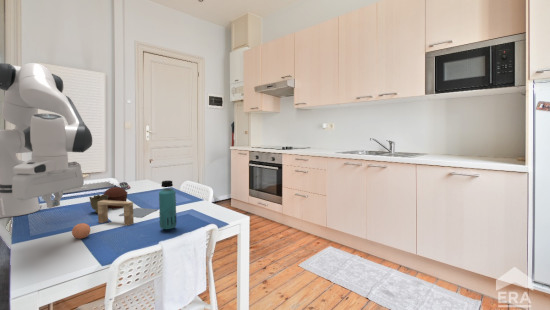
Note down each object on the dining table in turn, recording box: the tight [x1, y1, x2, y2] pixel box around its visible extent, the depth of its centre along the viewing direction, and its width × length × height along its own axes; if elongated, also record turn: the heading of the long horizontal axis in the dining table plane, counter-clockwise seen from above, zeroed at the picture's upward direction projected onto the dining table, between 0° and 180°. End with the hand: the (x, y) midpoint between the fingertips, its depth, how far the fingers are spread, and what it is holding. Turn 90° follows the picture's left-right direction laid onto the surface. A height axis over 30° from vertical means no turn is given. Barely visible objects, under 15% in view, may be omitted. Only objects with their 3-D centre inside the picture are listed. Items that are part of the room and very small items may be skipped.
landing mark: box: [118, 207, 159, 218], centre depth 127 cm, size 12×12×1 cm
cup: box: [89, 194, 108, 214], centre depth 126 cm, size 8×7×8 cm
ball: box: [71, 222, 91, 240], centre depth 96 cm, size 6×6×6 cm
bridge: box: [97, 200, 135, 226], centre depth 112 cm, size 3×14×9 cm, turn 80°
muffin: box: [102, 186, 128, 210], centre depth 135 cm, size 12×11×10 cm
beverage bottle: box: [158, 180, 178, 230], centre depth 105 cm, size 6×7×20 cm
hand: (53, 206), depth 86 cm, fingers closed
